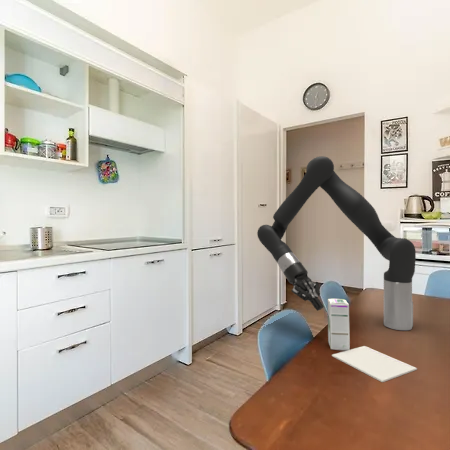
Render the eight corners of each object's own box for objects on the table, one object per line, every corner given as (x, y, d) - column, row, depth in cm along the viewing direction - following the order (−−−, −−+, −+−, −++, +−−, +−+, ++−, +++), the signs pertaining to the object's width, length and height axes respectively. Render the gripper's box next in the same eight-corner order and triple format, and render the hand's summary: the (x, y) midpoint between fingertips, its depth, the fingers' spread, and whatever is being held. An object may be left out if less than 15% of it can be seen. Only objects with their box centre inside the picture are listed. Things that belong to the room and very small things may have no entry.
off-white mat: (364, 347, 93) (364, 345, 93) (416, 369, 79) (416, 368, 79) (331, 356, 87) (331, 354, 87) (382, 382, 72) (382, 380, 72)
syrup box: (350, 351, 90) (350, 303, 90) (329, 349, 91) (329, 302, 91) (346, 343, 95) (346, 298, 95) (327, 342, 97) (327, 297, 97)
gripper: (285, 262, 102) (314, 306, 92) (309, 259, 110) (339, 299, 100) (273, 275, 106) (301, 318, 97) (298, 272, 114) (325, 311, 105)
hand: (320, 308), depth 99 cm, fingers closed
